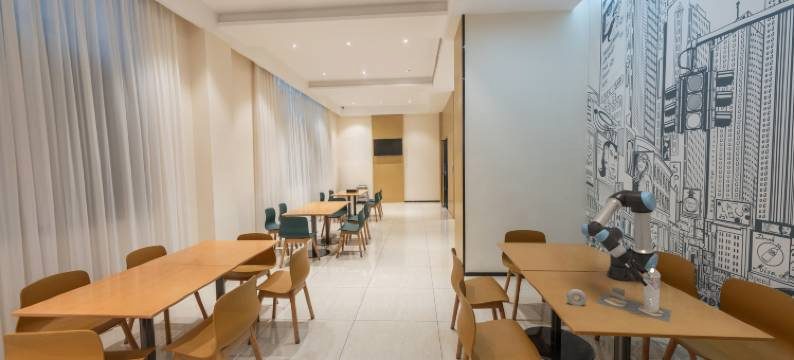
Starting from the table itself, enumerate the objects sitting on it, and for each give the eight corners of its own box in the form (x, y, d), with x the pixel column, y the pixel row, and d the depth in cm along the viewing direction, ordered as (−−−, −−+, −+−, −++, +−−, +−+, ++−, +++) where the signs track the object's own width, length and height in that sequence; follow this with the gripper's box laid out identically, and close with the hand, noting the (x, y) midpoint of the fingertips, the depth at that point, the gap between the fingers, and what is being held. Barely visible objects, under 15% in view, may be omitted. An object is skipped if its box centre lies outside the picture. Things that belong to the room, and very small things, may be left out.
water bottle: (639, 307, 174) (641, 263, 172) (650, 307, 174) (652, 263, 173) (650, 313, 167) (652, 267, 166) (662, 313, 168) (664, 267, 166)
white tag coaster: (607, 295, 192) (607, 285, 192) (629, 300, 184) (629, 290, 184) (602, 302, 182) (602, 292, 181) (625, 308, 174) (626, 298, 174)
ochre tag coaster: (640, 303, 181) (640, 293, 180) (665, 309, 173) (665, 299, 173) (636, 311, 170) (637, 301, 170) (663, 318, 163) (663, 307, 163)
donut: (584, 305, 180) (585, 289, 180) (586, 308, 177) (587, 291, 176) (565, 303, 183) (566, 287, 182) (567, 306, 179) (567, 289, 179)
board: (602, 295, 194) (603, 293, 194) (671, 312, 172) (671, 310, 172) (596, 304, 182) (596, 302, 181) (669, 324, 159) (669, 322, 159)
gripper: (618, 253, 190) (649, 284, 180) (610, 262, 172) (644, 297, 162) (630, 246, 186) (661, 277, 176) (623, 255, 168) (657, 290, 158)
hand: (653, 287), depth 169 cm, fingers open, 13 cm apart
